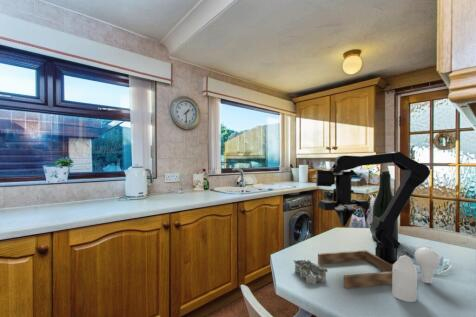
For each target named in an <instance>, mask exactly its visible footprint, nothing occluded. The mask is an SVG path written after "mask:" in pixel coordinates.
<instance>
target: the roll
mask: <svg viewBox="0 0 476 317" xmlns="http://www.w3.org/2000/svg"><path fill="white" fill-rule="evenodd" d="M392 265H393V269H392V284H391V285H392V286H391V288H392V289H391V292H392V296H393V297H394V298H396V299H397V300H400V301H404V302H407V303H413V302H416V301H417V299H418V298H417V297H418V296H417V294H418V293H417V292H418V271H417V269H416V266H415V264H414V262H413V261H412V259H411V258H410V256H408V255H406V254H405V255H400V256H399V257H398V258H397V261H396V262H395V263H394V264H392Z"/></svg>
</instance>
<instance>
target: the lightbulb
mask: <svg viewBox="0 0 476 317" xmlns="http://www.w3.org/2000/svg"><path fill="white" fill-rule="evenodd" d="M414 259H415V261H416V263H417V264H418V266H419V269H420V271H419V272H420V274H421V281H422V282H424V283H426V284H431V283H433V277H434V272H435V270H436V268H438V266H440V265H439V264H440V262H441V259H440V256H439V254H438V253H437V251H435V250H434V249H432V248H429V247H425V246H423V247H419V248H418V249H416V250H415V252H414Z"/></svg>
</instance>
